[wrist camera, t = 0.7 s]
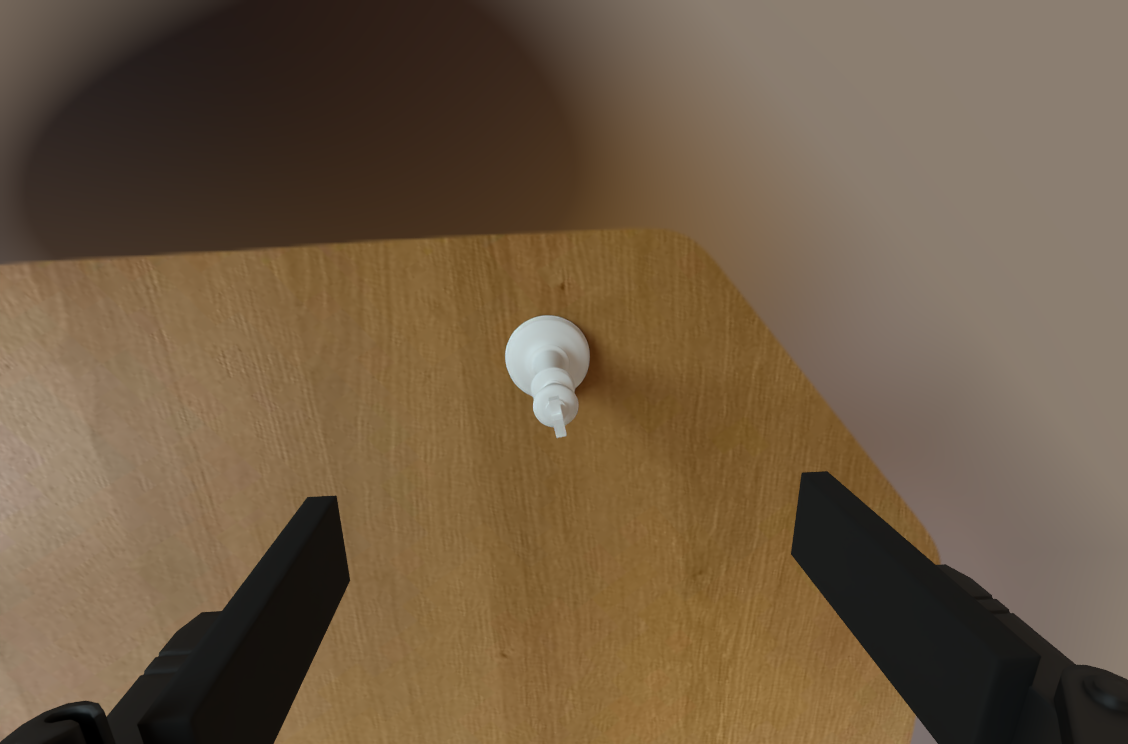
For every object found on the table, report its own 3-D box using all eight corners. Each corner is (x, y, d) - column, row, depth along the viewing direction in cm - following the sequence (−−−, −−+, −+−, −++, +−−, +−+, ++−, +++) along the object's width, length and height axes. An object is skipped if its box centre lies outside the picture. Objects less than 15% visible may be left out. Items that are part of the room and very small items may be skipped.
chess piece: (581, 307, 30) (608, 355, 21) (595, 387, 32) (627, 465, 22) (496, 324, 30) (484, 380, 21) (515, 403, 32) (512, 489, 22)
